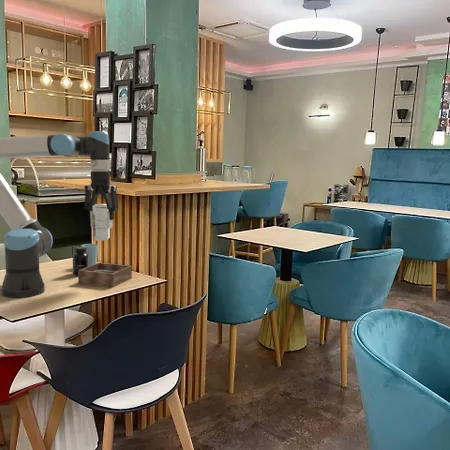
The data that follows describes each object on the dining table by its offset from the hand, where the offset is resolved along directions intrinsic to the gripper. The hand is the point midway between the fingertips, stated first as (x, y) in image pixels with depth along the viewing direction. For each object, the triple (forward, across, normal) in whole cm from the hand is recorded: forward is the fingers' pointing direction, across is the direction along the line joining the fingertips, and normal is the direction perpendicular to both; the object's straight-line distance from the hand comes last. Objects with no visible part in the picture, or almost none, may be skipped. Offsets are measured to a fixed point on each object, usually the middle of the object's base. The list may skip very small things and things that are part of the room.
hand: (101, 227), depth 184 cm
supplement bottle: (+24, -18, +9) cm, 31 cm away
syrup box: (+5, 0, 0) cm, 5 cm away
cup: (+24, -22, +23) cm, 40 cm away
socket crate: (+24, -2, +4) cm, 24 cm away
